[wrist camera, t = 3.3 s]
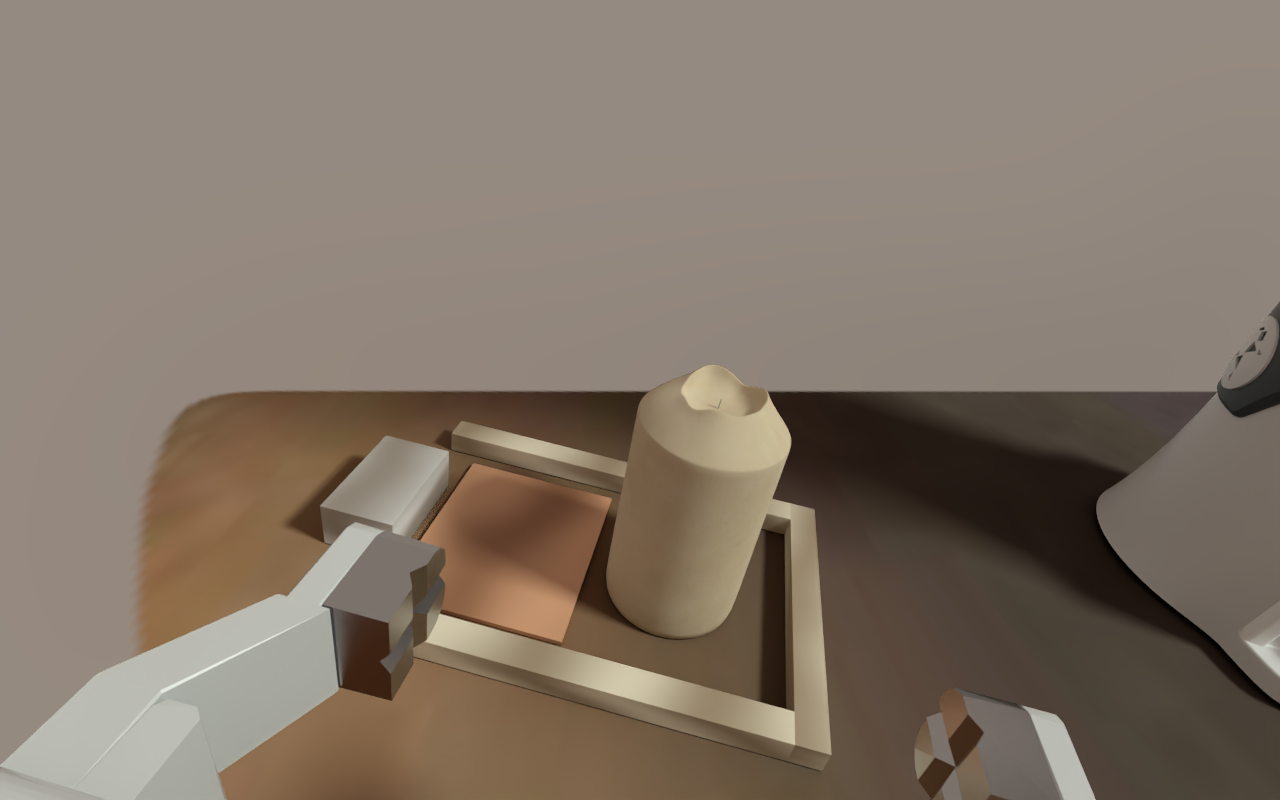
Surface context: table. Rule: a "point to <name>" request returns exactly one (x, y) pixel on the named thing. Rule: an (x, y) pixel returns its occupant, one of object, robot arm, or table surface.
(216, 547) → the table surface
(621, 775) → the table surface
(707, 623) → the candle
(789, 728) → the beige frame
